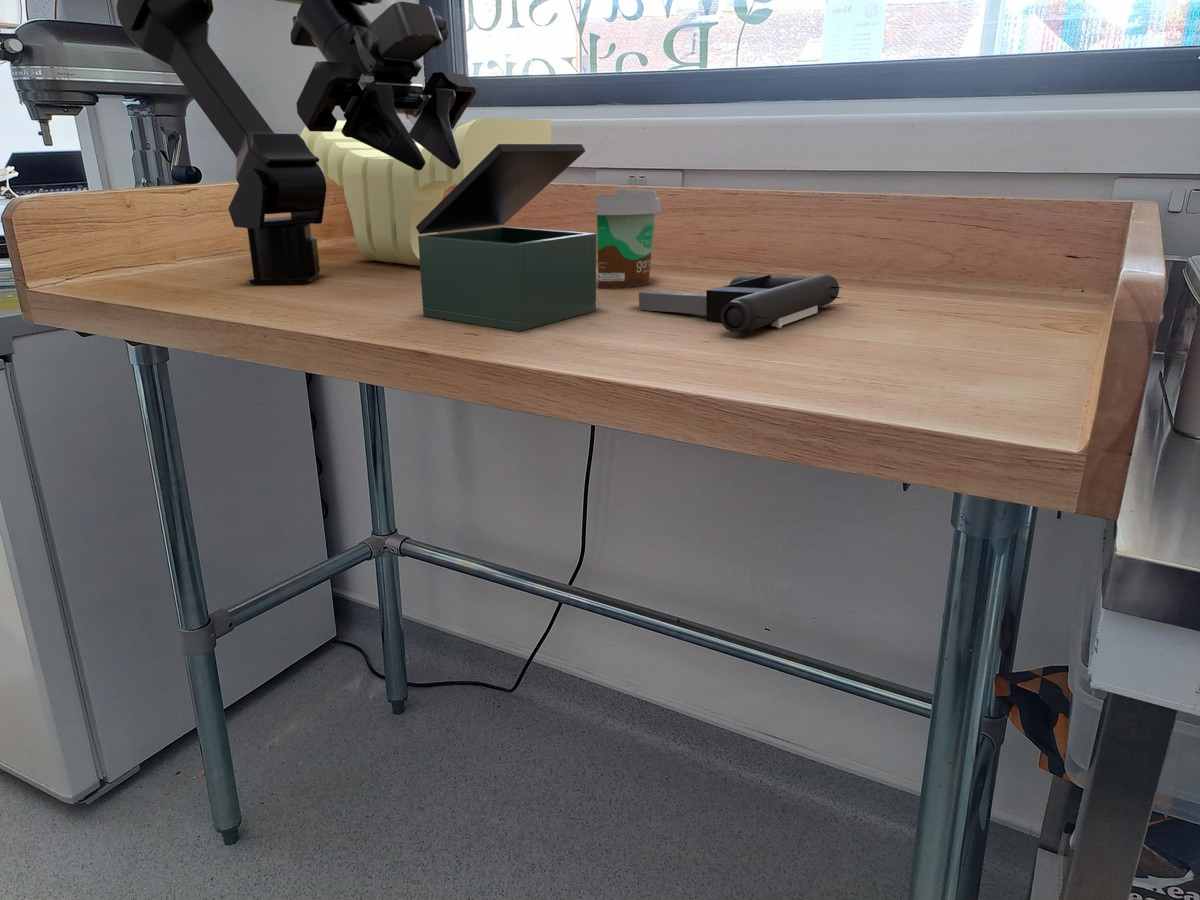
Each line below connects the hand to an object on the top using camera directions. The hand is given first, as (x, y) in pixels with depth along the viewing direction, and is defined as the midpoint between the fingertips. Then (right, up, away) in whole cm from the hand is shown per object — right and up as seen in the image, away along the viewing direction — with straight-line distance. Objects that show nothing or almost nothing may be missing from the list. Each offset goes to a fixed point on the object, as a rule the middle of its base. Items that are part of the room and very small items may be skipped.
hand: (440, 166), depth 81 cm
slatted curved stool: (-8, -1, +35) cm, 36 cm away
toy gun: (+28, -14, +1) cm, 31 cm away
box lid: (+6, -4, -4) cm, 8 cm away
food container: (+19, -8, +18) cm, 27 cm away
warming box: (+7, -14, 0) cm, 16 cm away
